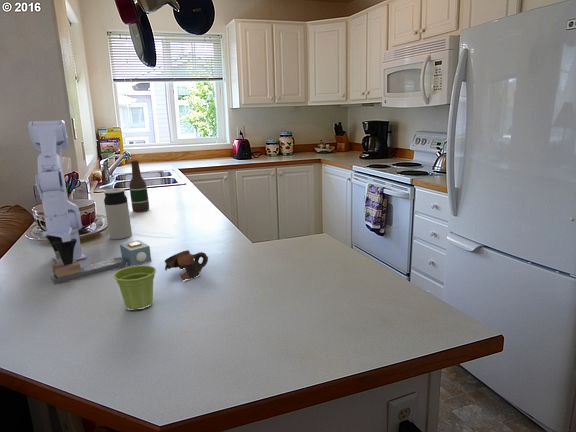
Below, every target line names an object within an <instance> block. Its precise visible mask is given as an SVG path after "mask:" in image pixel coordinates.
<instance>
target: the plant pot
mask: <svg viewBox="0 0 576 432" xmlns="http://www.w3.org/2000/svg"><path fill="white" fill-rule="evenodd" d="M156 273H157V269H156V267H154V266H151V265H145V264H144V265H143V264H139V265H135V266H128V267H124V268H122V269H119V270H117V271H116V272H115V273H114V274H113V278H114V280H116V284H117V285H118V286H119V289H120V294H121V295H122V299H123V303H124V306H125V308H126V307H127V308H129V309H138V308H143V307H146V306H148V305H150V304H151V303H152V302H153V300H154V279H155V274H156ZM152 304H153V303H152Z"/></svg>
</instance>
